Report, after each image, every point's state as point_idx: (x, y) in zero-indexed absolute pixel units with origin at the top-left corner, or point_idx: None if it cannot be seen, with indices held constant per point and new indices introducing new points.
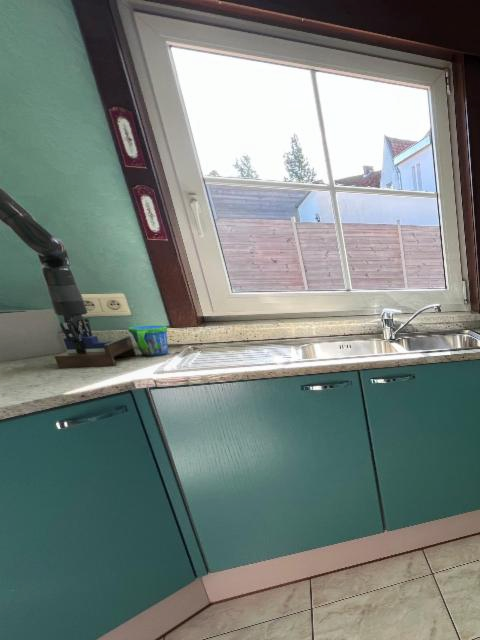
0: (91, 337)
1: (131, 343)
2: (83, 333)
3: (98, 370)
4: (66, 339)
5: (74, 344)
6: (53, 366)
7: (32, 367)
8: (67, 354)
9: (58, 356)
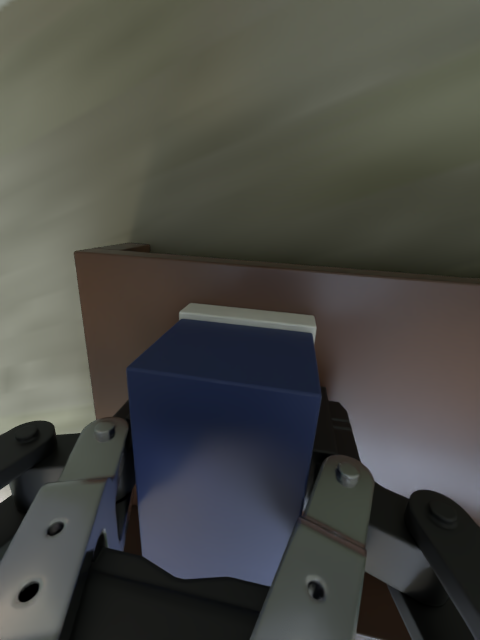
0: (177, 571)
1: None
2: (407, 553)
3: (46, 418)
4: (131, 388)
5: (118, 413)
6: (207, 185)
7: (206, 47)
8: (134, 316)
9: (77, 276)
